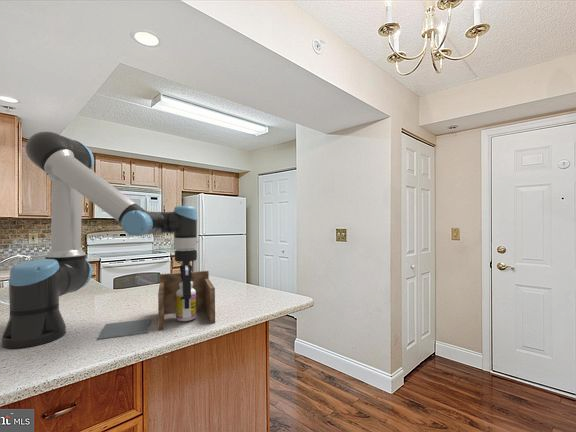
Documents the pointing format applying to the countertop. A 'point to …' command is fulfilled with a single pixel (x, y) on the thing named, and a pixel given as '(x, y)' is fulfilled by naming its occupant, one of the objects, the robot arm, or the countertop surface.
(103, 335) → the slate mat
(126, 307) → the countertop surface
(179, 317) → the supplement bottle
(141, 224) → the robot arm
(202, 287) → the cubby
